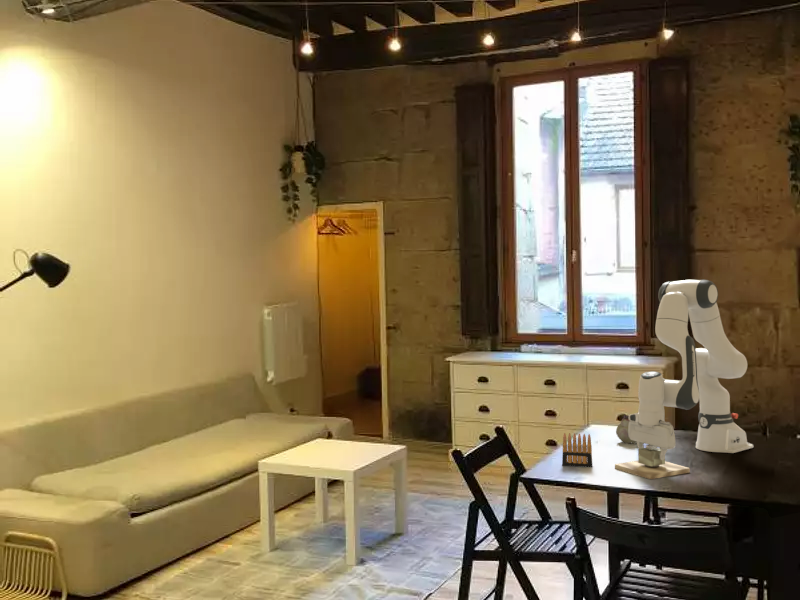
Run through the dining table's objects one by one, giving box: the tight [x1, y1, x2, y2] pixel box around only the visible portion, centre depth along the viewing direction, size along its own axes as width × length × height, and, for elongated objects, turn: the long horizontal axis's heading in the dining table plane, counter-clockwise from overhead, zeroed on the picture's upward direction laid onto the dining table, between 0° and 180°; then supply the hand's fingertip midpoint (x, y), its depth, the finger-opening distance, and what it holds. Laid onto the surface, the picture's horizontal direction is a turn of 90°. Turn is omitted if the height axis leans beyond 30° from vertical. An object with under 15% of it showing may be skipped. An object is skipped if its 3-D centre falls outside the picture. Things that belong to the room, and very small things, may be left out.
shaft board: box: [614, 444, 691, 480], centre depth 308 cm, size 18×18×9 cm
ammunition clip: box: [561, 432, 593, 468], centre depth 317 cm, size 11×2×12 cm, turn 72°
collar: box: [637, 447, 666, 466], centre depth 308 cm, size 6×6×5 cm
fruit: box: [615, 414, 637, 445], centre depth 354 cm, size 10×9×12 cm
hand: (651, 457), depth 308 cm, fingers open, 8 cm apart
